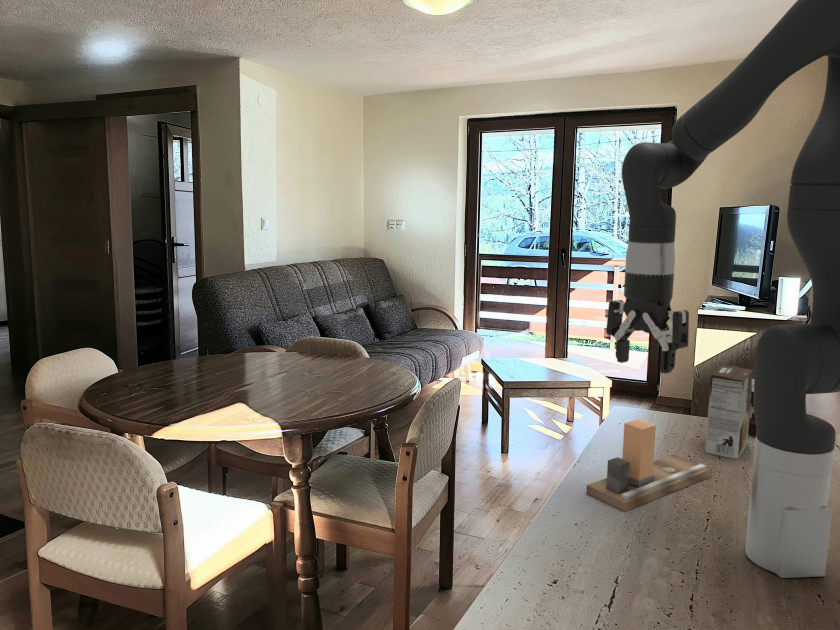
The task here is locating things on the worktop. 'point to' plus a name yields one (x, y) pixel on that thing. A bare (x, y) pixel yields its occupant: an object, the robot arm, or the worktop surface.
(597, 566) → the worktop surface
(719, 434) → the coffee box
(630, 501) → the wooden slider board
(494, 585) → the worktop surface
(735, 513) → the worktop surface
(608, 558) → the worktop surface
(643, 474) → the block
